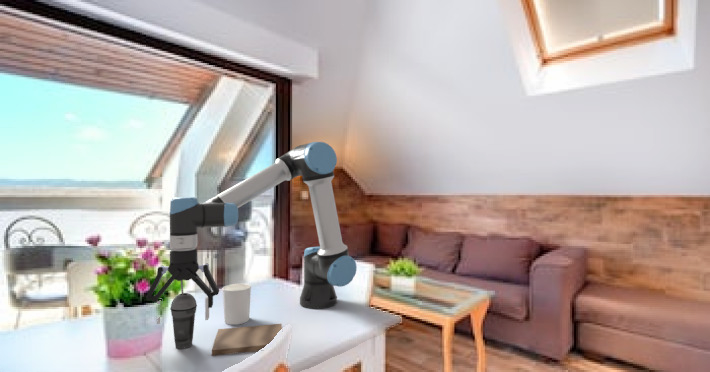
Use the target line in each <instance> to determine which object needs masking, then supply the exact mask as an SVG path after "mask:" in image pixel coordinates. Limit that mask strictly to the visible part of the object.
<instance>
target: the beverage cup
mask: <svg viewBox="0 0 710 372" xmlns="http://www.w3.org/2000/svg"><path fill="white" fill-rule="evenodd" d="M183 281H184V280H181V281H180V289H181V293H180V294H177V295H176V296H174V298H173V300H172V301H171V304H170V309H169V310H170V314H171V316H172V325H173V326H172V327H173V329H172V330H173V338H174V346H175V349H177V350H182V349H189V348H190V347H192V346H193V340H194V329H195V320H196V319H195V318H196V312H197V307H198V305H197V299H196V298H195V297H194V296H193V294H191V293H188V292H184V285H183V283H184V282H183Z"/></svg>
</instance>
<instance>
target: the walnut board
mask: <svg viewBox="0 0 710 372" xmlns="http://www.w3.org/2000/svg"><path fill="white" fill-rule="evenodd" d="M281 329H282V330H283V325H282V323H275V324H274V323H273V324H264V325H252V326H251V325H250V326H240V327H239V326H238V327H229V328H218V329H217V333H216V336H215V339H214V341H213V345H212V347H211V356H219V355H220V356H222V355H230V354H232V355H233V354H239V353H240V354H241V353H250V352H252V353H253V352H259V351H258V350H260V349H262V348H264V347H265V346H266V345H267V344H269V343H270V342H271V341H272V340H273V339H274V337H275V336H276V335H277V333H278V332H279V331H280V330H281Z"/></svg>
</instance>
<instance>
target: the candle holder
mask: <svg viewBox="0 0 710 372" xmlns="http://www.w3.org/2000/svg"><path fill="white" fill-rule="evenodd" d="M221 289H222V300H223V301H222V302H223V315H224V319H223V320H224V323H225V324H227V325H231V326H235V325H236V326H237V325H242V324H245V323H247V322H248V321H250V312H251V298H252V297H251V295H252V294H251V293H252V285H251V284H249V283H239V282H238V283H230V284H226V285H224V286H223V287H222V288H221Z"/></svg>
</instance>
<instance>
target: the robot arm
mask: <svg viewBox="0 0 710 372" xmlns="http://www.w3.org/2000/svg"><path fill="white" fill-rule="evenodd" d="M337 160H338V157H337V154H336V151H335V150H334V148H333V147H332V146H331V145H329V143H326V142H323V141H312V142H309V143H305V144H301V145H296V146H295V147H294V148H292V149H291V150H289V151H288V152H285V153H284V154H283V155H281V156H280V157H278V158H276V159H275V162H274V163H273V164H271V165H269V166H268V167H265V168H263V169H262V170H260V171H258V172H257V173H254V174H253V175H251V176H249V177H248V178H245V179H244V180H242V181H240V182H238V183H237V184H235V185H233V186H232V187H229V188H228V189H226V190H224V191H222V192H221V193H219V194H216V196H213V197H212V198H210V199H208V200H204V201H202V202H199V201H198V198H197V197H195V196H194V197H193V196H192V197H188V196H187V197H181V196H180V197H179V196H178V197H172V199H171V200H170V203H169V204H170V208H169V248H170V249H171V250H170V251H169V265H168V266H164V265H162V264H161V265H160V266H158V267H157V271H156V275H155V278H154V280H153V282H152V284H151V286H150V288H149V290H148V291H147V294H146V296H145V299H146V300H148V301H149V300H150V301H152V303H153V302H157V304H160V301H161V300H159V301H158V298H159V297H160V298H161V296H162V295H163V294H164V293H165V291H167V290H168V288H169V287H170V285H171V284H173V282H174V281H177V282H181V280H183V281H190V280H191V281H193V282H194V283H195V284H196V285H197V286H198V287H199V288H200V290H202V292H203V293H204V294H205V295H206V296H205V299H204V301H205V302H204V305H205V306H204V308H205V309H204V310H205V311H204V313H205V314H204V315H205V316H204V317H205V321H208V320H209V319H210V308H213V305H214V296H218V295H219V293H220V289H219V286H218V284H217V283H216V281H215V279H214V277H213V275H212V273H211V271H210V267H209V263H204V264H199V263H198V262H199V261H198V249H197V248H198V230H199V229H203V228H205V229H206V228H222V227H223V228H227V227H233V226H236V225H237V223H238V221H239V209H238V208H240V207H242V206H243V205H246V204H247V203H250V201H253V200H254V199H256V198H257V197H259V196H261V195H262V194H265V193H266V192H267V191H269V190H271V189H272V188H274V187H276V186H278V185H280V184H281V183H282V182H284V181H286V182H287V181H291V180H293V179H294V178H297V177H300V176H302V181H303V182H302V183H305V185H306V186H307V187H308V191H309V192H308V193H309V197H310V201H311V207H312V212H313V217H314V222H315V227H316V232H317V237H318V244H319V246H311V247H307V248H305V249H304V253H303V254H304V255H303V279H304V281H303V287H302V289H301V290H302V291H301V294H300V297H299V305H300V306H301V307H303V308H308V309H327V308H331V307H333V306H335V305H337V303H338V296H337V294H336V290H335V287H339V288H340V287H341V288H342V287H345V286H347V285H349V284H350V283H351V282H352V281H353V279H354V277H355V276H356V274H357V269H358V268H357V263H356V260H355V259H354V258H353V257H352V256H351V255H350V254H349V249H348V245H346V244H344V242H343V239H342V233H341V226H340V221H339V216H338V211H337V205H336V200H335V195H334V194H335V193H334V191H333V189H334V188H333V184H332V180H333V179H334V178H335V172H334V170H335V168H336V166H337ZM199 270H200V271H201V272H202V273H203V274H204V276H205V278H206V280H207V283H208V284H209V286H210V287H209V286H208V285H207V284H206V283H205V282H204V281H203V280H202V278H200V276H199V274H197V272H198V271H199ZM167 272H168V273H169V274H170V275H171V276H170V277H169V278H168V280H167V281H166V282H165V283H164V285H163V286H162V287H161V288H160V289H159V291H157V293H156V294H154V295H155V296H154V295H152V294H153V292H154V291H155V292H156V290H157V288H158V286H159V284H160V283H161V280H162V278H163V276H164V275H165V274H166V273H167ZM334 286H335V287H334ZM156 287H157V288H156ZM210 288H211V289H210ZM155 289H156V290H155ZM155 292H154V293H155ZM160 298H159V299H160ZM157 320H158V321H157ZM159 324H161V323H160V317H159V318H158V319H157V318H156V325H159Z"/></svg>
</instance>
